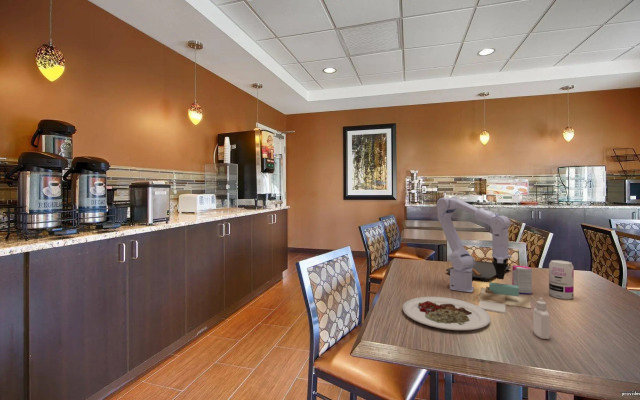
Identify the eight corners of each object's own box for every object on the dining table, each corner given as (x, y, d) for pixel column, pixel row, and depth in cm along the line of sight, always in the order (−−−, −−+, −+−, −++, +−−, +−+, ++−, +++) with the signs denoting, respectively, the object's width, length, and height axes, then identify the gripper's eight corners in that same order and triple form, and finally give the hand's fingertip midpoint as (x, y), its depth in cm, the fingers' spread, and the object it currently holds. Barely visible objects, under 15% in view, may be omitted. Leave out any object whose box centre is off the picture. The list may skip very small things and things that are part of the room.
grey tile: (478, 309, 116) (478, 307, 116) (479, 301, 123) (479, 300, 123) (505, 313, 111) (505, 312, 111) (505, 305, 119) (505, 304, 119)
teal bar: (489, 292, 126) (489, 284, 126) (489, 290, 129) (489, 282, 129) (518, 296, 121) (518, 288, 120) (518, 294, 124) (518, 285, 124)
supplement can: (569, 294, 130) (569, 260, 129) (576, 301, 122) (576, 265, 122) (546, 292, 133) (546, 259, 133) (552, 298, 125) (552, 263, 125)
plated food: (491, 343, 91) (491, 332, 90) (393, 323, 105) (393, 313, 105) (490, 308, 117) (490, 300, 117) (412, 296, 131) (411, 289, 131)
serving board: (487, 284, 146) (487, 272, 146) (442, 275, 164) (442, 264, 164) (513, 270, 172) (513, 259, 171) (472, 263, 189) (471, 254, 189)
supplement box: (532, 294, 131) (532, 268, 130) (517, 293, 132) (517, 268, 131) (526, 290, 136) (526, 265, 136) (511, 289, 137) (511, 265, 137)
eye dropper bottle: (531, 336, 93) (531, 298, 93) (533, 330, 98) (533, 294, 97) (549, 341, 91) (549, 302, 90) (550, 334, 95) (550, 297, 94)
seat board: (478, 300, 124) (478, 291, 124) (480, 292, 135) (480, 283, 135) (531, 308, 115) (531, 299, 115) (528, 299, 125) (528, 290, 125)
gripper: (512, 248, 117) (512, 282, 117) (511, 242, 129) (511, 273, 129) (491, 246, 120) (491, 280, 121) (492, 241, 133) (492, 271, 133)
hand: (500, 276), depth 125 cm, fingers open, 7 cm apart
